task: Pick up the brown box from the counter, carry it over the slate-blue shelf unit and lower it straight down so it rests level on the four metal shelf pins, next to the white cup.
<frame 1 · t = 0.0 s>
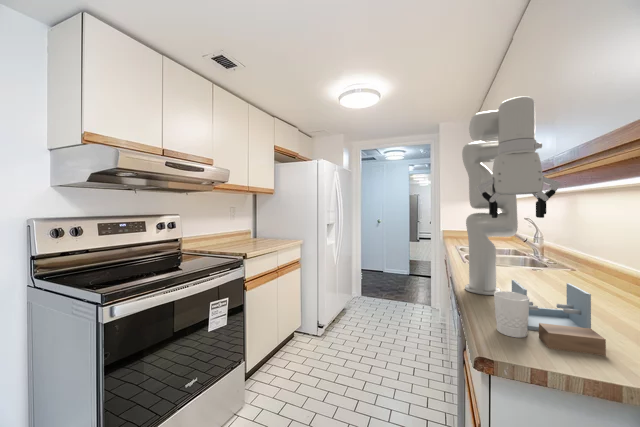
hand: (516, 217, 70), 31 cm above the counter, tool pointing down, fingers open, 9 cm apart
white cup: (511, 333, 75), on the counter
shelf unit: (547, 324, 79), on the counter
brown box: (570, 347, 67), on the counter
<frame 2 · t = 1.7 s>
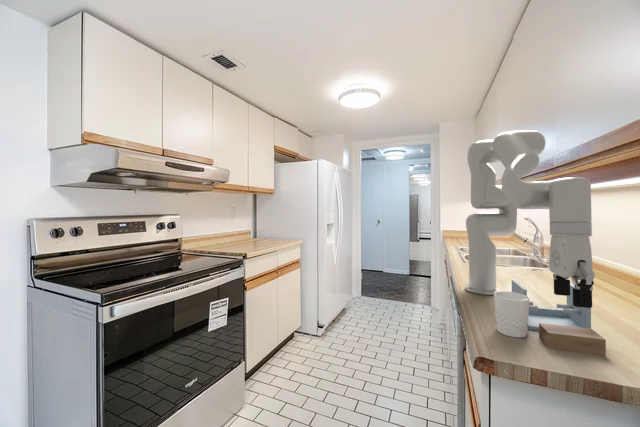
hand: (571, 300, 66), 11 cm above the counter, tool pointing down, fingers open, 9 cm apart
nothing on the counter moved.
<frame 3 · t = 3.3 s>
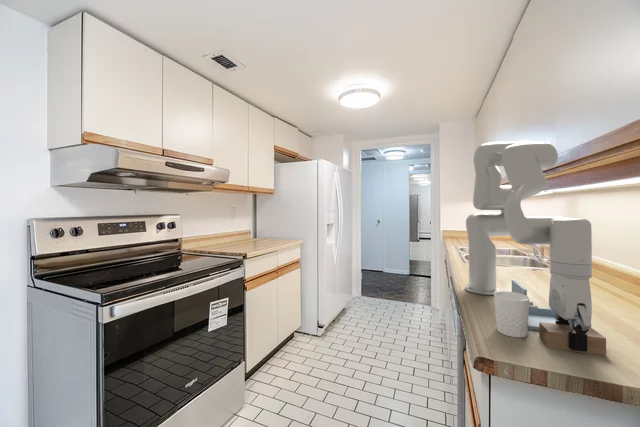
hand: (570, 342, 67), 1 cm above the counter, tool pointing down, fingers closed on brown box, 6 cm apart
brown box: (570, 346, 67), on the counter, touching gripper
everything else where it was.
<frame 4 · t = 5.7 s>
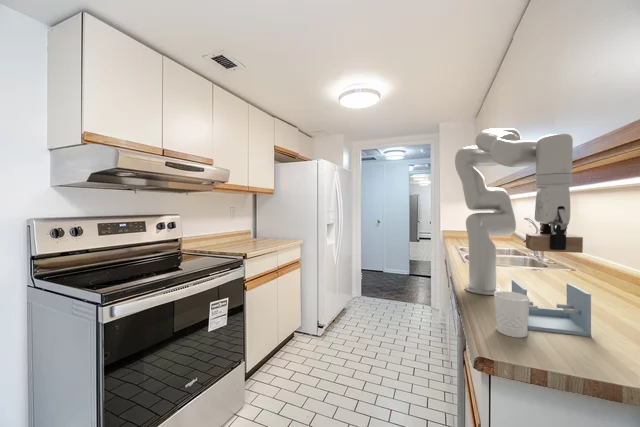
hand: (552, 247, 75), 23 cm above the counter, tool pointing down, fingers closed on brown box, 6 cm apart
brown box: (552, 249, 75), point 22 cm above the counter, touching gripper
everything else where it was.
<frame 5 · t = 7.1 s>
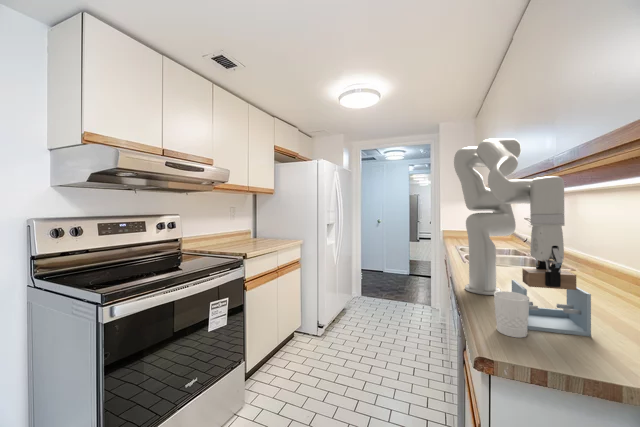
hand: (547, 282, 79), 12 cm above the counter, tool pointing down, fingers closed on brown box, 6 cm apart
brown box: (547, 285, 79), point 11 cm above the counter, touching gripper
everything else where it was.
when the fingers open (7 cm above the counter, at t = 8.4 s): brown box drops 1 cm, resting on shelf unit.
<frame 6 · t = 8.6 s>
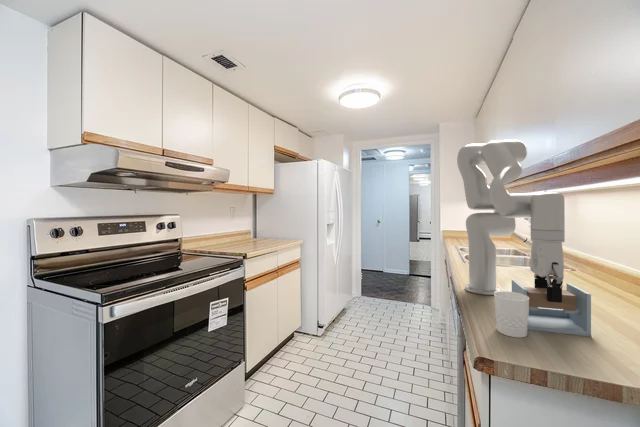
hand: (547, 296, 79), 8 cm above the counter, tool pointing down, fingers open, 8 cm apart
brown box: (547, 304, 79), point 6 cm above the counter, touching shelf unit
everything else where it was.
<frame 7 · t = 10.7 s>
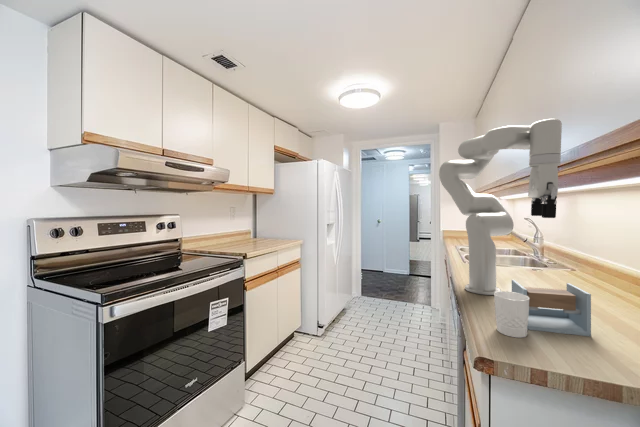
hand: (542, 216, 86), 31 cm above the counter, tool pointing down, fingers open, 9 cm apart
nothing on the counter moved.
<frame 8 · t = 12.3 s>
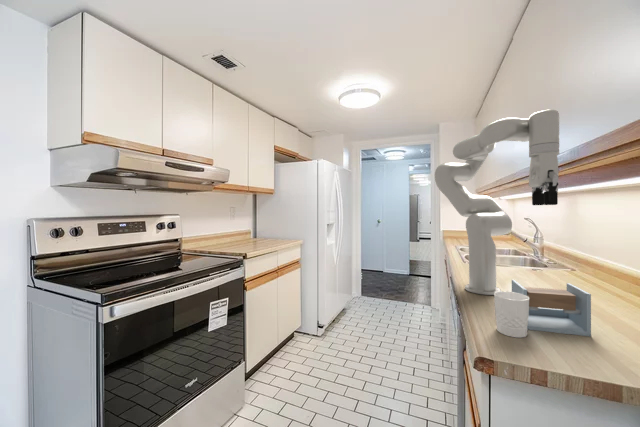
hand: (544, 205, 88), 34 cm above the counter, tool pointing down, fingers open, 9 cm apart
nothing on the counter moved.
at the end: brown box 0.1 cm off-centre on the shelf unit, point 5.6 cm above the shelf unit's base; brown box tilted 0°; the gripper is holding nothing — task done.
